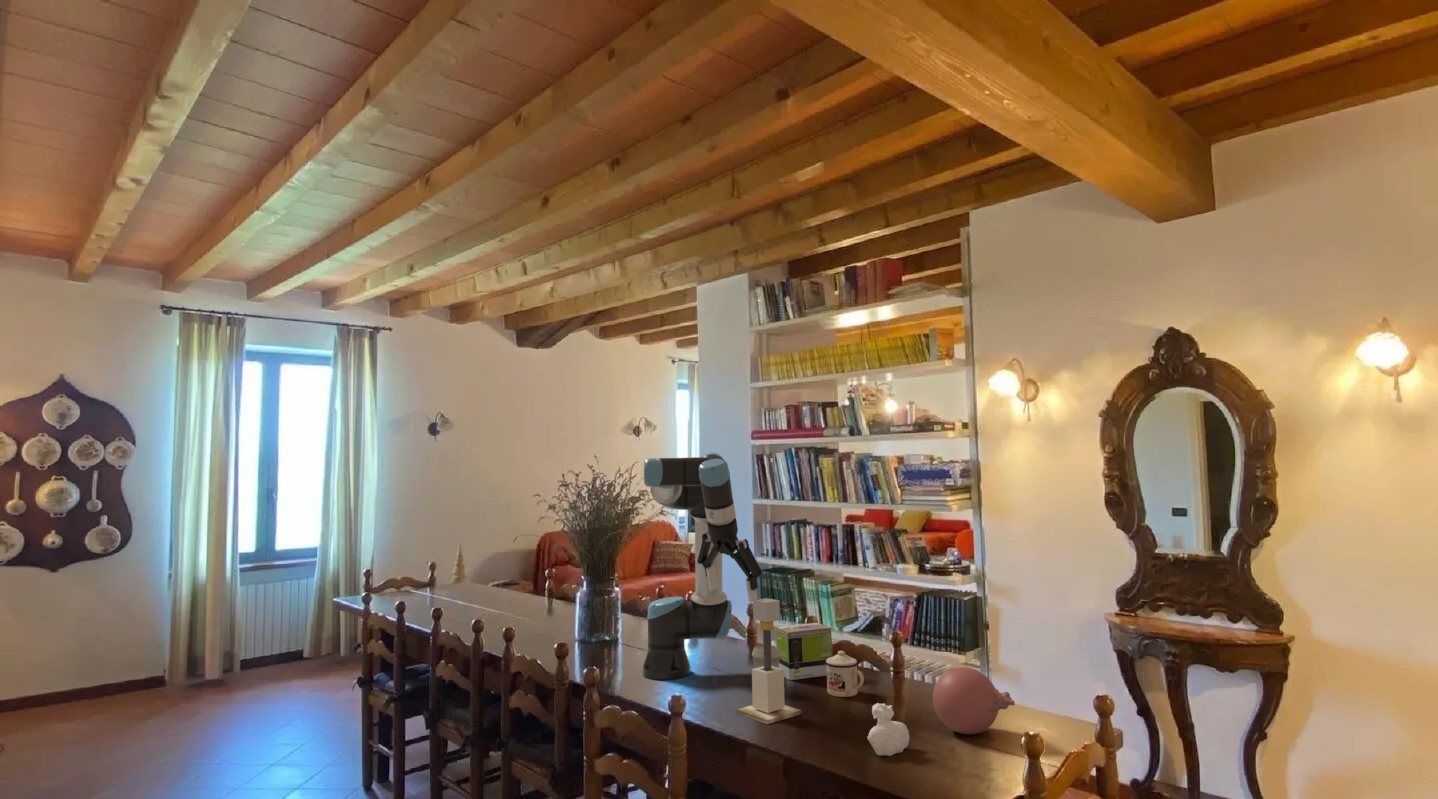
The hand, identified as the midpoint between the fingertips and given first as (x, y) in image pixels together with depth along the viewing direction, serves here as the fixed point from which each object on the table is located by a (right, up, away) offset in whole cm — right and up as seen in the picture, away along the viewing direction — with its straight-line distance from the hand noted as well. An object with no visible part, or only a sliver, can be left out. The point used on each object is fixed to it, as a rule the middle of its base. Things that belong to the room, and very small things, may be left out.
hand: (733, 594), depth 205 cm
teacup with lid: (+33, -33, +19) cm, 50 cm away
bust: (+35, -30, -25) cm, 52 cm away
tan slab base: (+9, -32, +2) cm, 34 cm away
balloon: (+58, -30, -16) cm, 67 cm away
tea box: (+23, -35, +40) cm, 58 cm away
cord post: (+9, -32, +2) cm, 34 cm away
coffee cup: (+10, -34, +24) cm, 43 cm away
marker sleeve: (+9, -31, +3) cm, 32 cm away
